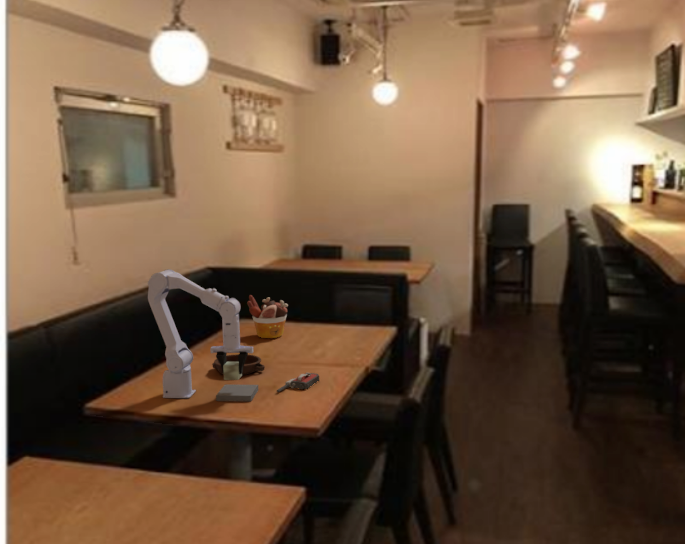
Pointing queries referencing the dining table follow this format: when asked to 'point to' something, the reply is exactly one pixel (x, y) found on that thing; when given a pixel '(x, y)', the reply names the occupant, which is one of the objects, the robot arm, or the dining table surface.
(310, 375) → the walkie-talkie
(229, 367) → the cube
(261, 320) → the bucket of meat
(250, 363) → the dish
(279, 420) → the dining table surface
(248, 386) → the stand
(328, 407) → the dining table surface
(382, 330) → the dining table surface
